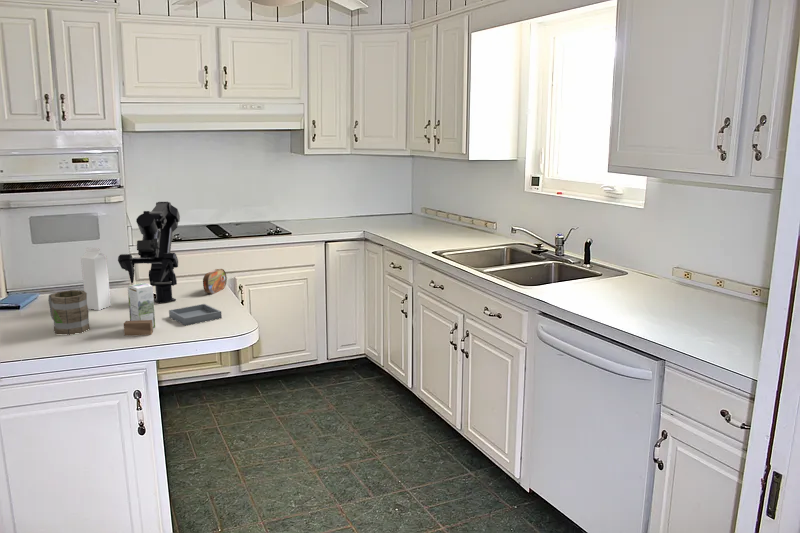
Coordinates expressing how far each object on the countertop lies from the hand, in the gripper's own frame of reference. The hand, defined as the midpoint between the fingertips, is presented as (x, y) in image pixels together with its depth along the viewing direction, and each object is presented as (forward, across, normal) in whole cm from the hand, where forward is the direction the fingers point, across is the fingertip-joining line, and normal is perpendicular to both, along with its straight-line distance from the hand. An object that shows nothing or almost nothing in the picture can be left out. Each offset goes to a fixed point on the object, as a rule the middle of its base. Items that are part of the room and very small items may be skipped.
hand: (146, 282), depth 226 cm
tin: (-17, +17, +38) cm, 45 cm away
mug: (+14, -24, +5) cm, 28 cm away
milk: (-4, -22, +23) cm, 32 cm away
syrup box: (+16, 0, +3) cm, 16 cm away
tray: (+9, +15, +10) cm, 20 cm away
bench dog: (+20, 0, -2) cm, 20 cm away
